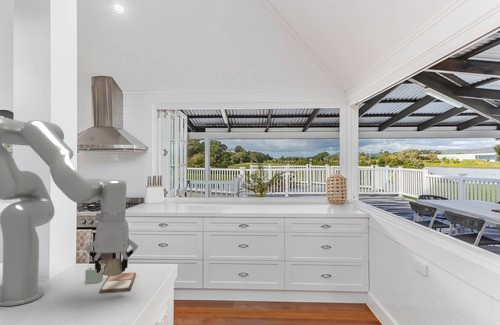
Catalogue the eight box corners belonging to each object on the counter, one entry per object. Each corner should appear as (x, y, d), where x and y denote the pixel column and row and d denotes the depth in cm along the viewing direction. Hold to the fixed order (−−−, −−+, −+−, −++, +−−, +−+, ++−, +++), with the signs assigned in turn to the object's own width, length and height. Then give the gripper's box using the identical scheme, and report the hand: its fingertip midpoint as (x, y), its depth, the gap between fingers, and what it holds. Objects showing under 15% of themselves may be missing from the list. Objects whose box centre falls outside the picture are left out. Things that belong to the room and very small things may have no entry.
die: (85, 283, 114) (85, 270, 114) (88, 278, 119) (89, 265, 119) (99, 282, 115) (100, 269, 115) (102, 278, 120) (103, 264, 120)
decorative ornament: (126, 274, 103) (126, 258, 103) (98, 279, 98) (99, 262, 98) (122, 270, 107) (123, 255, 107) (96, 275, 101) (96, 258, 102)
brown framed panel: (99, 293, 106) (99, 289, 106) (109, 276, 121) (109, 273, 121) (130, 291, 108) (130, 287, 108) (135, 275, 124) (135, 272, 124)
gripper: (81, 219, 97) (79, 276, 97) (139, 218, 101) (137, 273, 101) (87, 215, 104) (85, 268, 104) (142, 215, 108) (140, 266, 108)
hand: (111, 270), depth 102 cm, fingers closed on decorative ornament, 7 cm apart
